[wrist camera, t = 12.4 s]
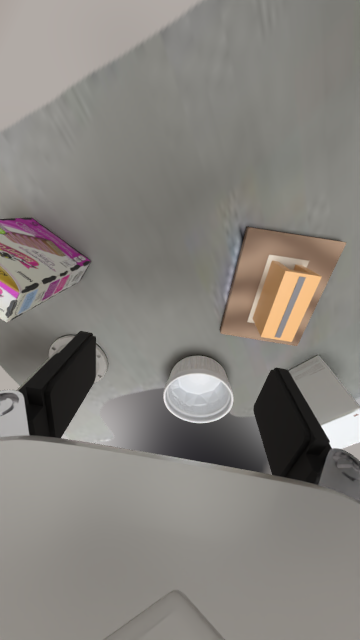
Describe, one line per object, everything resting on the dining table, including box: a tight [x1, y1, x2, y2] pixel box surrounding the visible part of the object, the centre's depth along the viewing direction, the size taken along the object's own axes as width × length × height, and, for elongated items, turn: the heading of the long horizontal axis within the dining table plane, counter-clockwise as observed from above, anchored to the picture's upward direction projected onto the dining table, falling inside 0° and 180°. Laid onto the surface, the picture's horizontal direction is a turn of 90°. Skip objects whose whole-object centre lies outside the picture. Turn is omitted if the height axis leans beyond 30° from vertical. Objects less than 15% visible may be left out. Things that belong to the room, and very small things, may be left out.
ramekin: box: [163, 356, 233, 423], centre depth 43 cm, size 13×13×7 cm
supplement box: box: [289, 355, 360, 449], centre depth 38 cm, size 7×7×13 cm
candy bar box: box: [0, 218, 91, 322], centre depth 29 cm, size 11×5×16 cm, turn 52°
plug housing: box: [253, 261, 322, 342], centre depth 32 cm, size 10×5×6 cm, turn 172°
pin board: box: [220, 227, 346, 346], centre depth 34 cm, size 18×14×4 cm
